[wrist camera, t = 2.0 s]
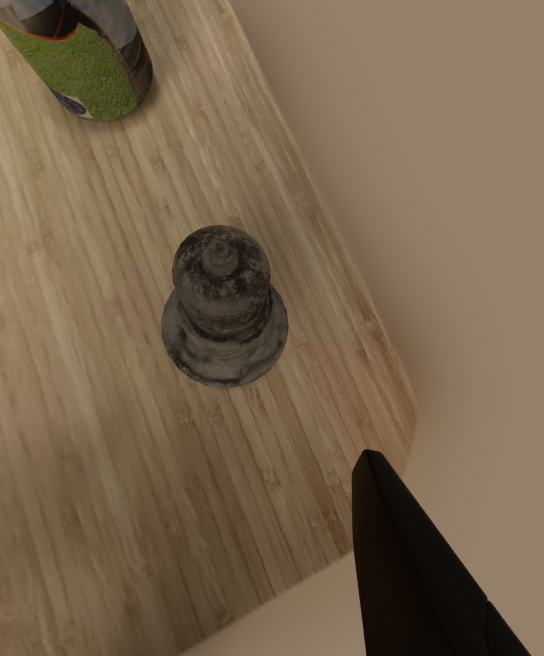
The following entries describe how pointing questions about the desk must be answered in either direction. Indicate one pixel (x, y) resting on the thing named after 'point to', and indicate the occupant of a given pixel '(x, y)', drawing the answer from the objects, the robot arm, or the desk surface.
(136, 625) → the desk surface
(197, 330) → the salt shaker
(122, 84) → the beverage can
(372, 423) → the desk surface
